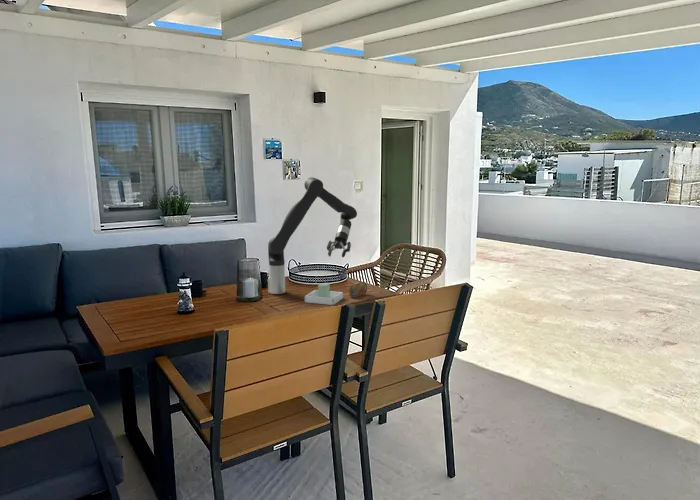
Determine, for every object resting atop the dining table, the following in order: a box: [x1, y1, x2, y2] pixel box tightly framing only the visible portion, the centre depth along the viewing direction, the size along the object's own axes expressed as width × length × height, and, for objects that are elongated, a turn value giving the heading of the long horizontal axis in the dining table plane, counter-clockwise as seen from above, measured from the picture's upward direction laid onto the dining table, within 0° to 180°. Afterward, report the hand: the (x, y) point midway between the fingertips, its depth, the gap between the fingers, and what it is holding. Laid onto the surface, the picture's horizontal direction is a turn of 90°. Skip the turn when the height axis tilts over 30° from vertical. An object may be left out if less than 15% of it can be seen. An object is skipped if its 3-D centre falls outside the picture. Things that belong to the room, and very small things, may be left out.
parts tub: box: [304, 289, 344, 306], centre depth 272 cm, size 17×15×4 cm
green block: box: [317, 283, 331, 298], centre depth 271 cm, size 5×5×9 cm
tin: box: [348, 281, 368, 299], centre depth 282 cm, size 15×3×8 cm, turn 143°
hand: (335, 256), depth 286 cm, fingers open, 8 cm apart
